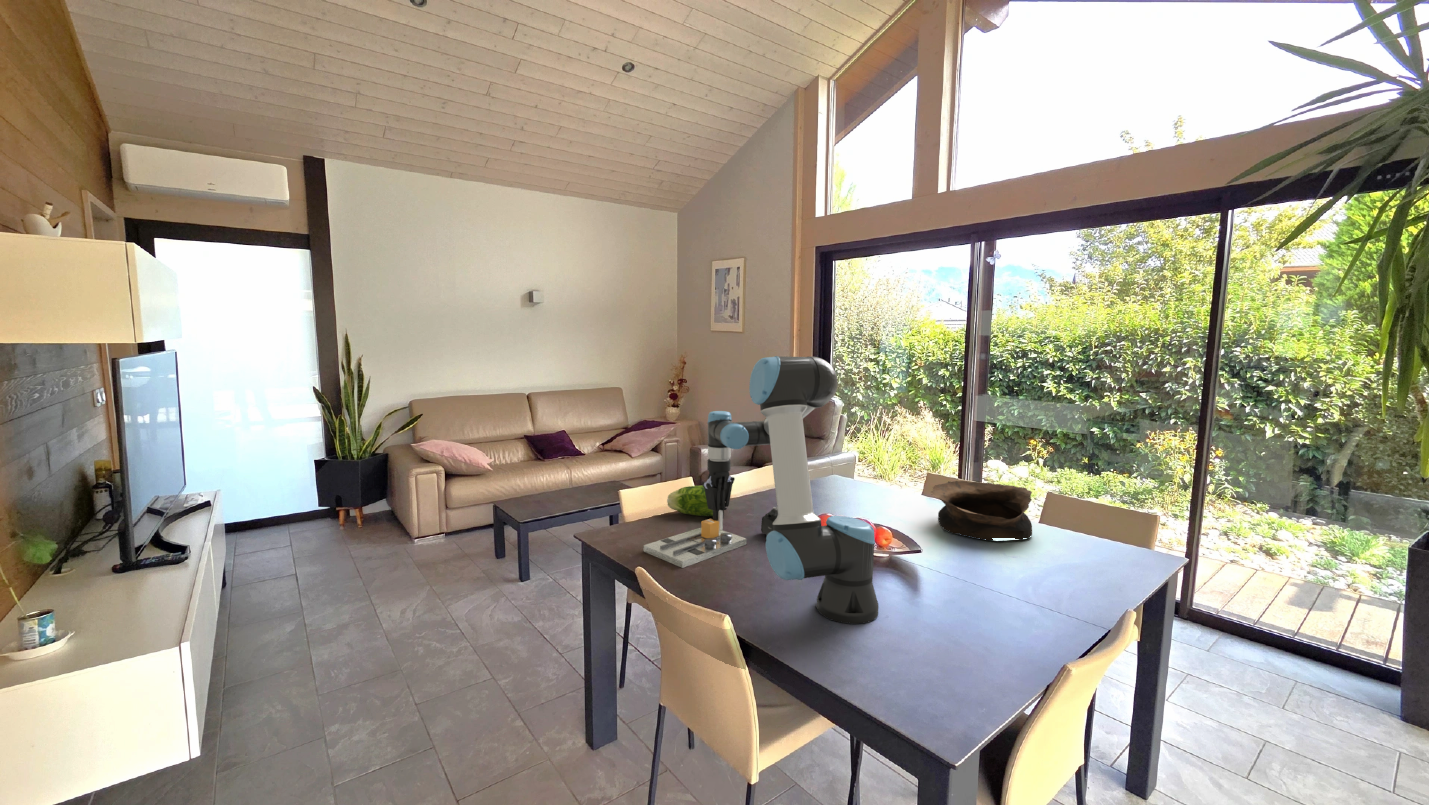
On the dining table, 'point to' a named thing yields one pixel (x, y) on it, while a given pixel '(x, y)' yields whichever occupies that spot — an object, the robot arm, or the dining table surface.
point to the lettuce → (690, 501)
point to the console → (693, 547)
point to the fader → (709, 528)
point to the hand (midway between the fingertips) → (718, 529)
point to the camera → (769, 521)
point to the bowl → (984, 509)
